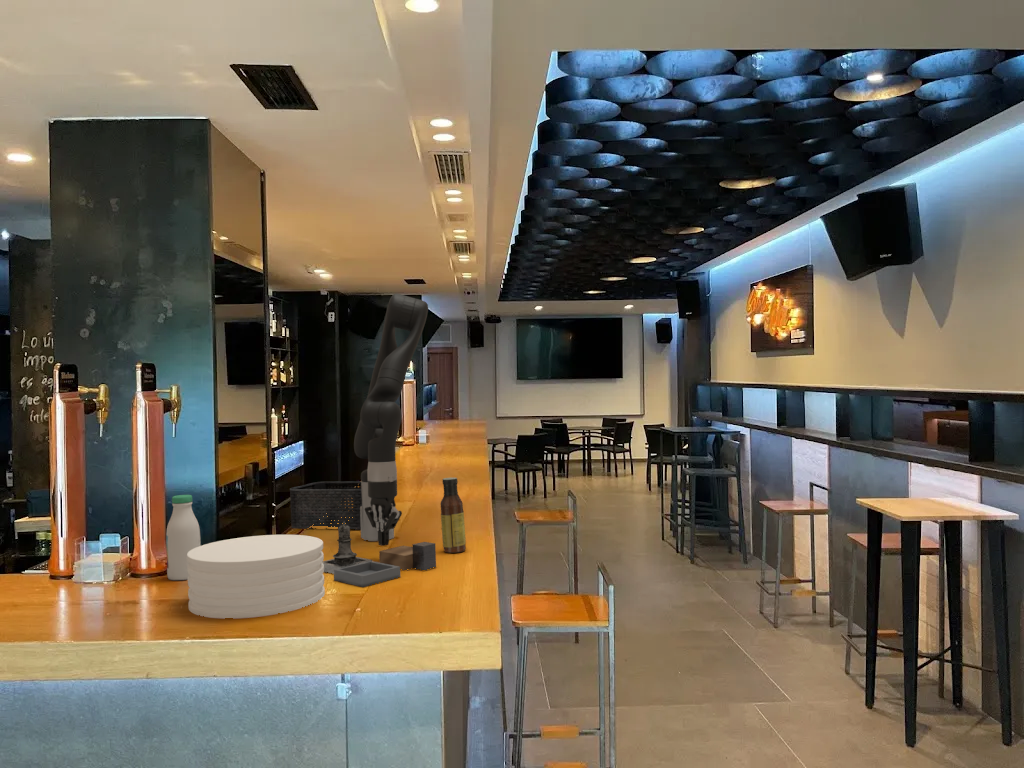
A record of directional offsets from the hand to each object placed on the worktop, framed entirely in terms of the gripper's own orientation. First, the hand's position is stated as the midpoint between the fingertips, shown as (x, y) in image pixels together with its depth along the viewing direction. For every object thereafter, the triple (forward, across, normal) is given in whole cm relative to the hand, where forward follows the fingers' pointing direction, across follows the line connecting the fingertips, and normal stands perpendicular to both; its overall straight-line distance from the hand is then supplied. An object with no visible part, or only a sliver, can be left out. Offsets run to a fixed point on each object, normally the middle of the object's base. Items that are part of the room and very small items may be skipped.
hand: (383, 545), depth 204 cm
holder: (+4, -1, -12) cm, 12 cm away
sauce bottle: (+4, +7, +18) cm, 20 cm away
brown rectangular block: (+4, +8, 0) cm, 9 cm away
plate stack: (+4, +6, -40) cm, 40 cm away
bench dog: (+4, +15, 0) cm, 16 cm away
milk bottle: (+5, -27, -40) cm, 49 cm away
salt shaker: (+4, -1, -12) cm, 12 cm away
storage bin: (+5, -56, +26) cm, 62 cm away
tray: (+4, +12, -14) cm, 19 cm away
